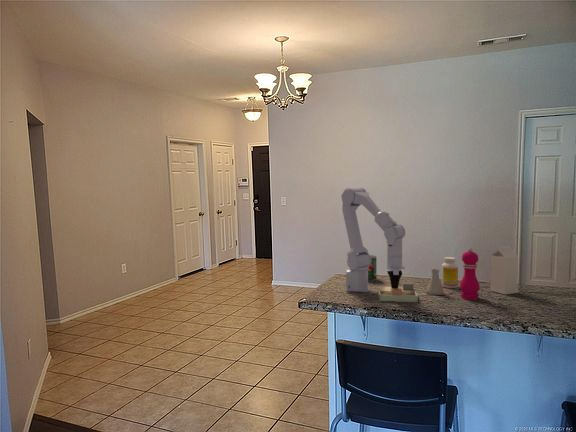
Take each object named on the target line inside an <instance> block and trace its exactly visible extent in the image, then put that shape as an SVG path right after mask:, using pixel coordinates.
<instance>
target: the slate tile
mask: <svg viewBox="0 0 576 432" xmlns="http://www.w3.org/2000/svg"><path fill="white" fill-rule="evenodd" d="M401 287H402V289H403V290H413V288H414V282H412V281H402V282H401Z"/></svg>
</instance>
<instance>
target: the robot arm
mask: <svg viewBox="0 0 576 432" xmlns="http://www.w3.org/2000/svg"><path fill="white" fill-rule="evenodd" d="M340 196H341V201H342V208H341V209H342V210H341V211H342V216H343V220H344V225H345V228H346V234H347V238H348V243H349V247H350V248H349V250H348V251H347V252H346V253H347V254H346V255H347V260H346V263H347V266H348V269H346V272H345V273H346V274H345V277H346V280H345V281H346V282H345V287H346V288H345V290H346V292H357V293H358V292H359V293H360V292H361V293H363V292H364V293H369V292H370V286H369V281H368V269H369V266H370V265H371V262H372V260H371V257H370V254H369V250H368V249H367V248H366V247H365V246H364V244H363V240H362V235H361V231H360V226H359V221H358V216H357V212H356V211H357V210H358V208H359V207H360V206H363V207H364V208H365V209H366V210H367V211H368V212H369V213H370V214H371V215H372V216H373V217H374V222H375V223H376V224H377V225H378V227H379V228H380V229H381V230H382V232H383V235H384V238H385V239H386V243H387V246H386V247H387V249H386V251H387V254H386V255H387V256H386V260H387V263H386V265H387V266H386V269H387V271H386V272H387V275H388V277H389V280H390V287H392V288H398V287H399V284H400V280H401V277H402V276H403V272H402V270H403V269H404V270H405V269H406V266H404V265H403V239H404V237H405V236H406V230H405V228H404V226H403V225H402V224H398V223H397V221H395V220H394V219H393V218H392V217H391V216H390V213H389V212H386V211H381V209H380V208H379V207H378V206H377V204H376V203H375V201H374V200H373V199H372V198H371V197H370V193H369V192H368V191H367V190H366V189H365V188H363V187H359V188H354V187H353V188H350V187H347V188H346V189H343V192H342V194H341V195H340Z"/></svg>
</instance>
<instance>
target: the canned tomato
mask: <svg viewBox="0 0 576 432" xmlns="http://www.w3.org/2000/svg"><path fill="white" fill-rule="evenodd" d="M369 255H370V254H369ZM370 257H371V260H372V262H371V265H370V266H369V269H368V282H371V281H376V280H378V279H377V278H378V277H377V275H378V274H377V269H378V268H377V265H378V264H377V262H378V261H377V255H370Z"/></svg>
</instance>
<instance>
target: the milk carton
mask: <svg viewBox="0 0 576 432" xmlns="http://www.w3.org/2000/svg"><path fill="white" fill-rule="evenodd" d="M518 270H519V256H518V254H516V252H514V250H513V249H512V245H508V246H498V247H497V250H496V251H495V252H494V253H492V254H491V255H490V291H491V292H494V293H496V294H497V293H498V294H502V295H511V294H517V293H518V283H519V281H518V280H519V276H518V275H519V271H518Z"/></svg>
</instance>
